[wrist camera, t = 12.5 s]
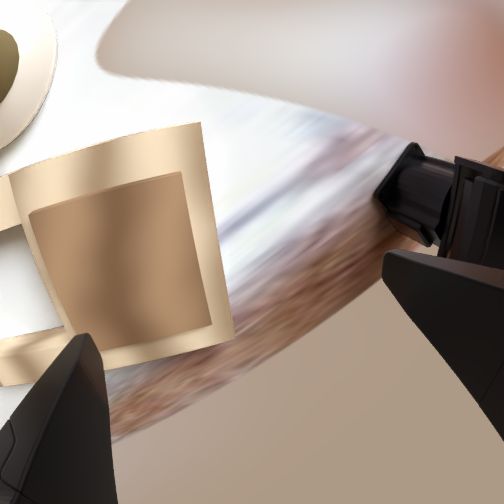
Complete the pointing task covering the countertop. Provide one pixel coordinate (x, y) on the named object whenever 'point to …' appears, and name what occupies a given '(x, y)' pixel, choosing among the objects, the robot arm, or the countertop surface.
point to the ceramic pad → (27, 65)
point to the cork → (7, 62)
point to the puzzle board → (120, 250)
